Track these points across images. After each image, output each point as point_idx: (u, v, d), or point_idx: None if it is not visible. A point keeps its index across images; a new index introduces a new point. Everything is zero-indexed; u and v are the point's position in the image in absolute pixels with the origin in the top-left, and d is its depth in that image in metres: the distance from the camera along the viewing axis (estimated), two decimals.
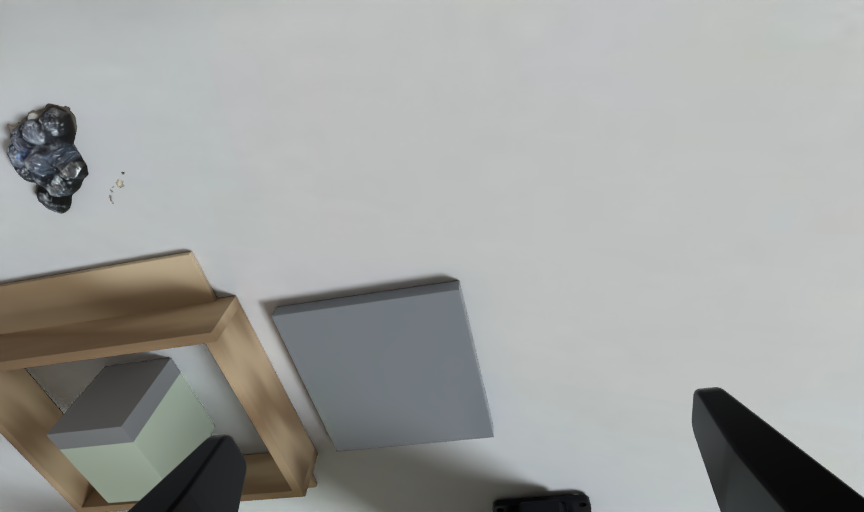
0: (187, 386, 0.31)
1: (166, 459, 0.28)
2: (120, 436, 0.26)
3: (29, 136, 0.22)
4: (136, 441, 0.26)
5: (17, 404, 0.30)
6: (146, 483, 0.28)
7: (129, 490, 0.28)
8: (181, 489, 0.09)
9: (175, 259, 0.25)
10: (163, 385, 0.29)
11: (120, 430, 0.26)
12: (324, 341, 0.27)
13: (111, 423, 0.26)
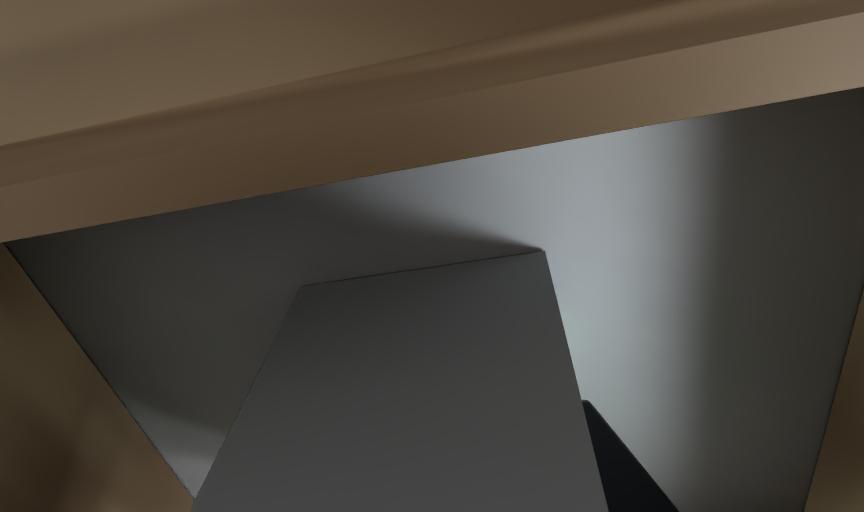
0: None
1: None
2: None
3: None
4: None
5: (18, 406, 0.09)
6: None
7: None
8: None
9: None
10: None
11: None
12: None
13: None
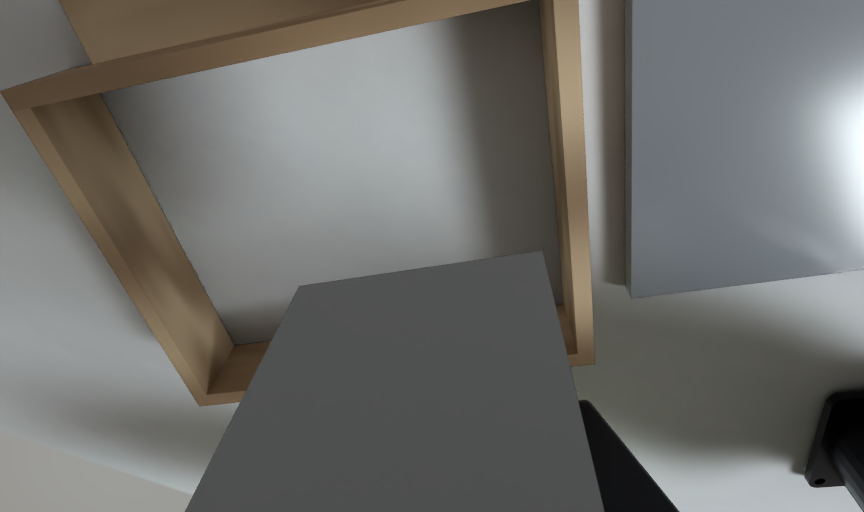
0: None
1: None
2: None
3: None
4: None
5: (120, 199, 0.18)
6: None
7: None
8: None
9: None
10: None
11: None
12: (710, 50, 0.15)
13: None
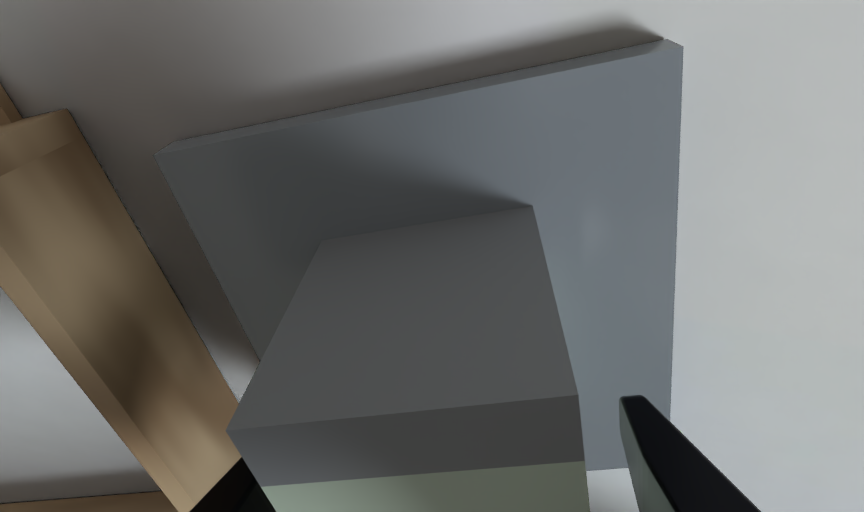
0: None
1: None
2: (543, 438, 0.06)
3: None
4: (583, 455, 0.07)
5: None
6: None
7: None
8: (247, 484, 0.09)
9: None
10: None
11: (561, 412, 0.06)
12: (293, 229, 0.11)
13: (510, 383, 0.06)
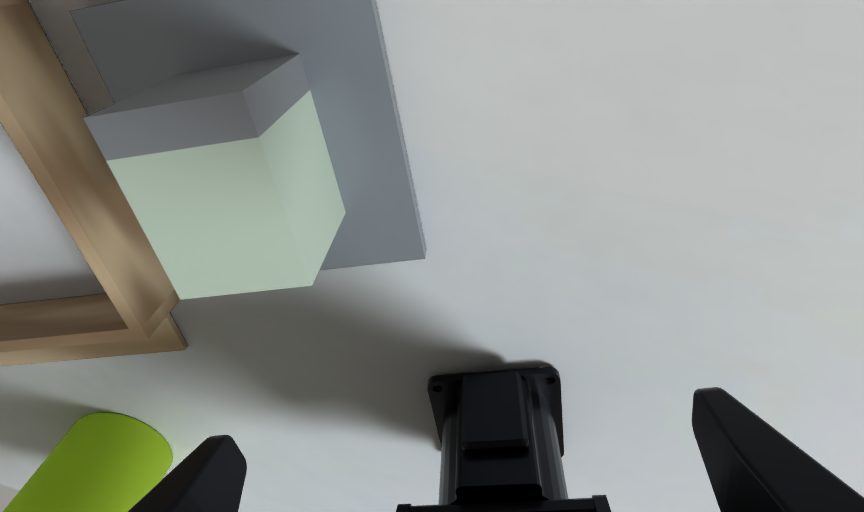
0: (317, 120, 0.18)
1: (298, 210, 0.15)
2: (235, 121, 0.13)
3: None
4: (262, 139, 0.13)
5: None
6: (261, 248, 0.15)
7: (225, 267, 0.16)
8: (181, 489, 0.09)
9: None
10: (292, 85, 0.16)
11: (238, 103, 0.13)
12: (159, 66, 0.17)
13: (218, 93, 0.13)
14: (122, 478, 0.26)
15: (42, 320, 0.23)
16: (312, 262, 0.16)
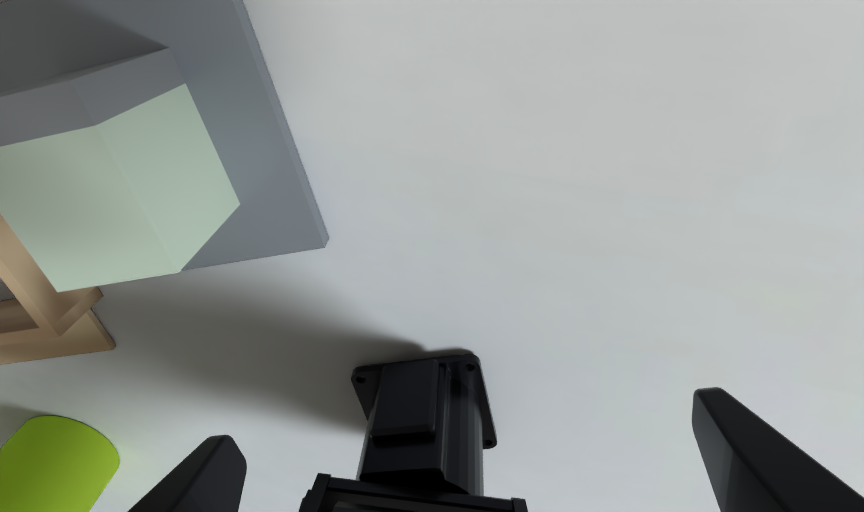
0: (196, 113, 0.18)
1: (159, 198, 0.16)
2: (70, 110, 0.13)
3: None
4: (101, 127, 0.14)
5: None
6: (122, 237, 0.15)
7: (93, 258, 0.16)
8: (181, 489, 0.09)
9: None
10: (155, 78, 0.16)
11: (69, 92, 0.13)
12: (39, 67, 0.18)
13: (52, 83, 0.13)
14: (60, 479, 0.27)
15: None
16: (180, 250, 0.16)
